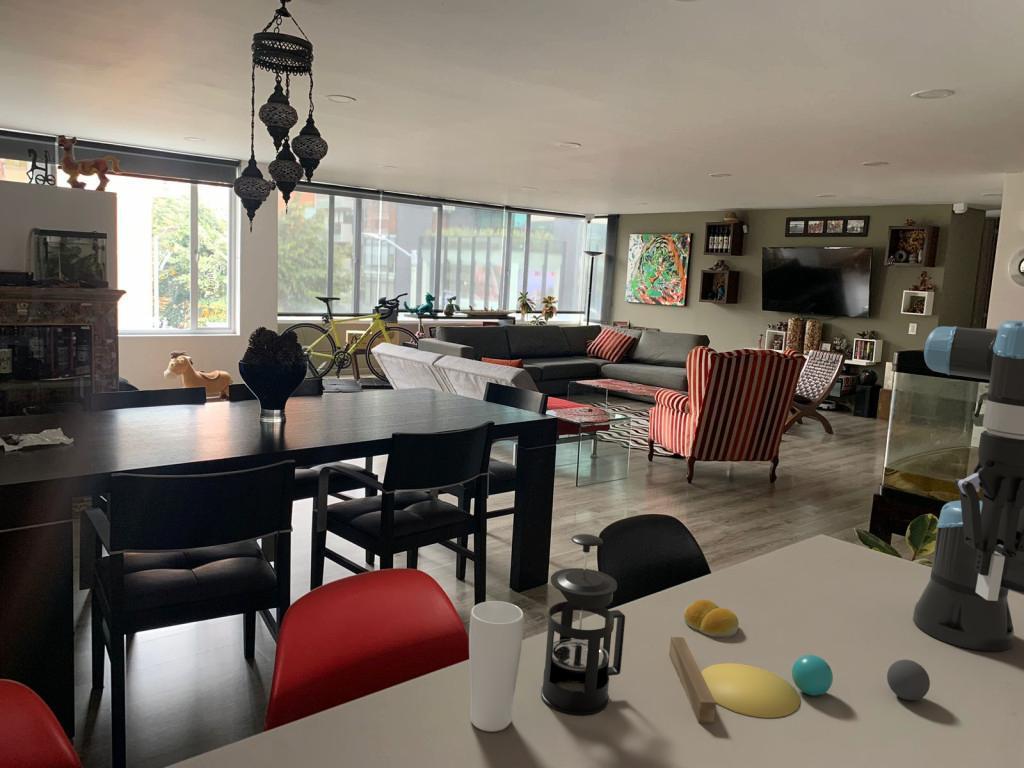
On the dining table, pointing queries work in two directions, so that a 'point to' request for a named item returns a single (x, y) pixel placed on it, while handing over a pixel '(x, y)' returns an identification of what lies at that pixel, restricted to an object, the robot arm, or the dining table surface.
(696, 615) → the bread roll
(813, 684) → the ball
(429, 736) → the dining table surface
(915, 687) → the ball
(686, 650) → the wall
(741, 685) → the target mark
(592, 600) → the french press
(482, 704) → the drinking glass
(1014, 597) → the dining table surface
